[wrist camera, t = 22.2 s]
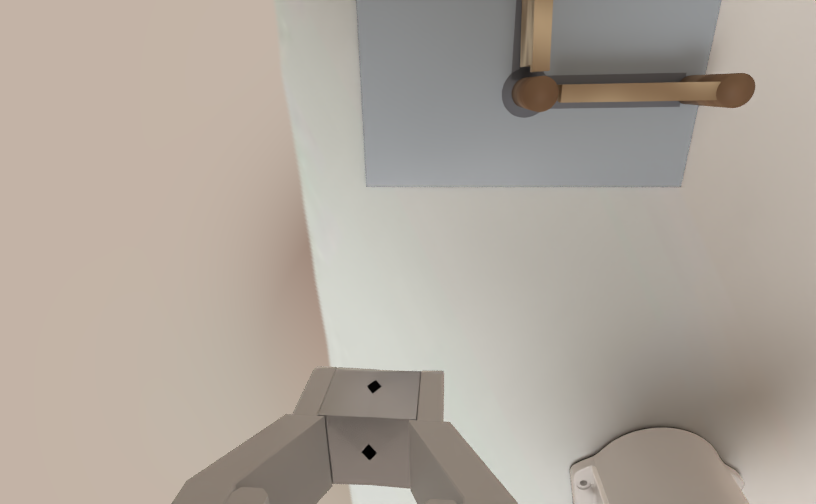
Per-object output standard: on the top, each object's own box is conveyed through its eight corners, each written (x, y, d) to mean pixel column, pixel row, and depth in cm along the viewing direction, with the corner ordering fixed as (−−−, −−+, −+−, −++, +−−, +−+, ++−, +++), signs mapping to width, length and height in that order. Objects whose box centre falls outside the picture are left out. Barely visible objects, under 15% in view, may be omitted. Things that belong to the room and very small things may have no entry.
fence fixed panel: (697, 105, 35) (749, 109, 29) (509, 107, 37) (522, 112, 30) (704, 73, 34) (759, 71, 28) (511, 77, 36) (524, 76, 30)
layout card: (679, 186, 38) (681, 187, 37) (367, 185, 40) (366, 186, 40) (754, -162, 29) (758, -165, 29) (349, -136, 31) (348, -138, 31)
